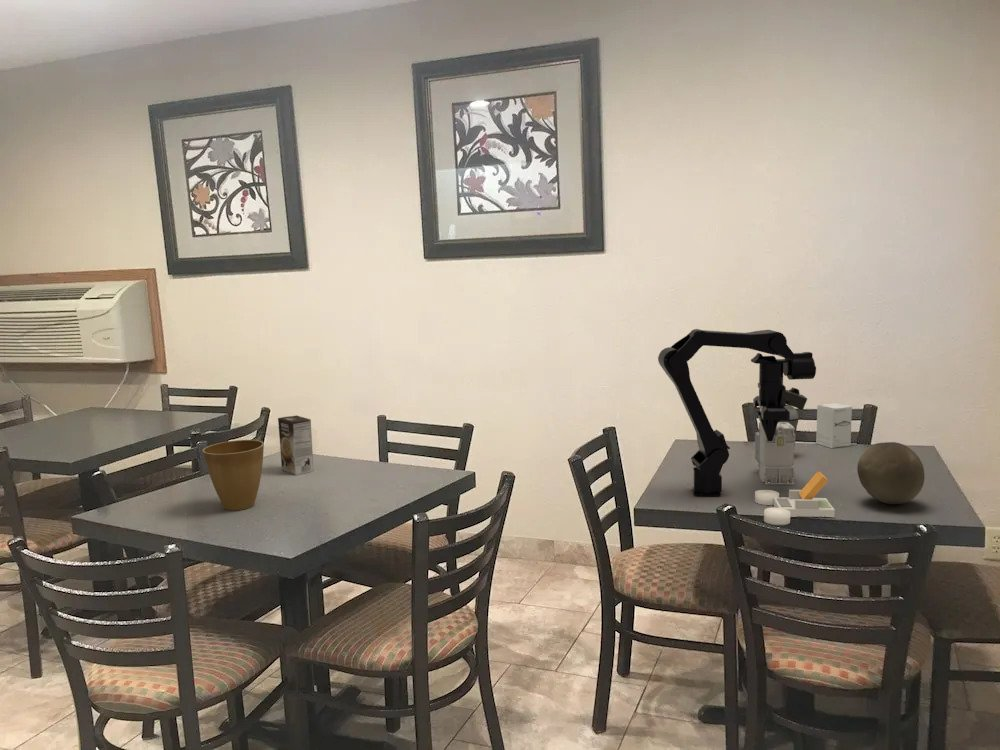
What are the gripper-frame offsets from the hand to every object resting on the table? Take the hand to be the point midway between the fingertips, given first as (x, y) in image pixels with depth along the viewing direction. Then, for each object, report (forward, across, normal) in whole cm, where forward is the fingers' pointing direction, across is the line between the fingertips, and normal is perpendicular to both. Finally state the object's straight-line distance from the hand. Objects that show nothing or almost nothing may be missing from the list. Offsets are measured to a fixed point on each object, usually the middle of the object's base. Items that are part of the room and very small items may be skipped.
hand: (770, 440), depth 205 cm
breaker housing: (+13, -17, -5) cm, 22 cm away
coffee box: (+13, +13, +134) cm, 135 cm away
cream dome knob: (+13, -10, +2) cm, 17 cm away
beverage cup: (+13, +36, -10) cm, 40 cm away
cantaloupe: (+13, -10, -26) cm, 31 cm away
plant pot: (+13, -22, +135) cm, 137 cm away
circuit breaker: (+13, +13, -3) cm, 19 cm away
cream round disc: (+13, -24, +2) cm, 28 cm away
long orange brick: (+10, -17, -5) cm, 20 cm away
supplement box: (+13, +51, -27) cm, 59 cm away
